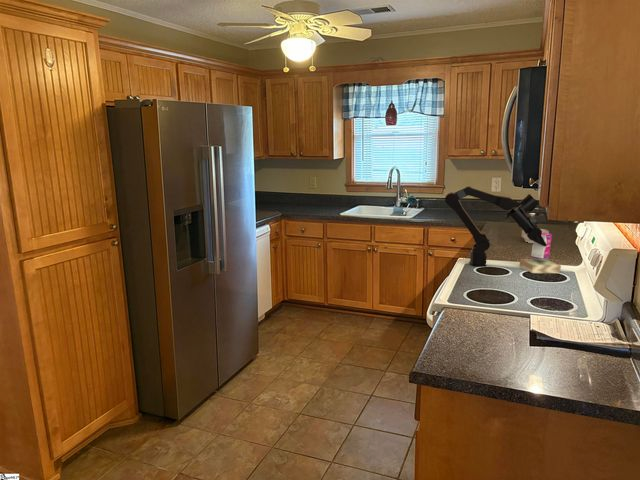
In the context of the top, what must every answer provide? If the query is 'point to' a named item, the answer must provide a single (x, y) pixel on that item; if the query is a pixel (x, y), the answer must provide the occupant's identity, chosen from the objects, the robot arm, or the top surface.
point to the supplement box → (542, 248)
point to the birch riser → (540, 266)
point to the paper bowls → (528, 238)
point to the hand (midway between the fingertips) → (544, 244)
